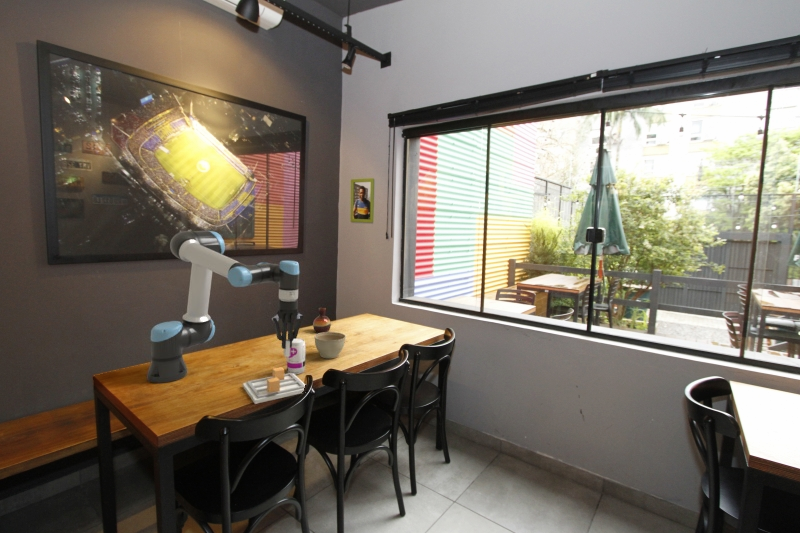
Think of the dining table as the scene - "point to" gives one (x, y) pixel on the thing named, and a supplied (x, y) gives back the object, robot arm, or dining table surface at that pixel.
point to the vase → (321, 322)
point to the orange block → (278, 373)
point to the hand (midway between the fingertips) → (286, 355)
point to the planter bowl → (329, 344)
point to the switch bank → (260, 393)
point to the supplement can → (296, 357)
